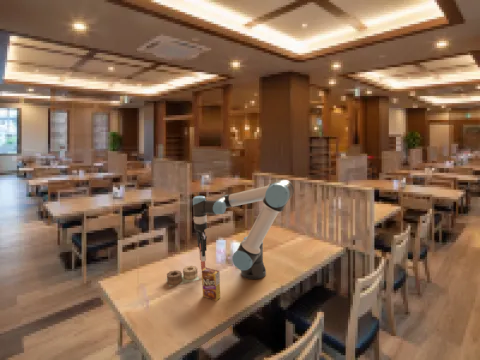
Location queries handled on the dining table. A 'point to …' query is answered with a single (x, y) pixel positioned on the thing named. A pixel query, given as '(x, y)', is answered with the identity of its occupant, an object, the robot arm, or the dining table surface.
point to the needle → (202, 262)
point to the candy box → (211, 283)
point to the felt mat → (186, 280)
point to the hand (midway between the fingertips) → (202, 260)
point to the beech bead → (190, 272)
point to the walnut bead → (174, 277)
